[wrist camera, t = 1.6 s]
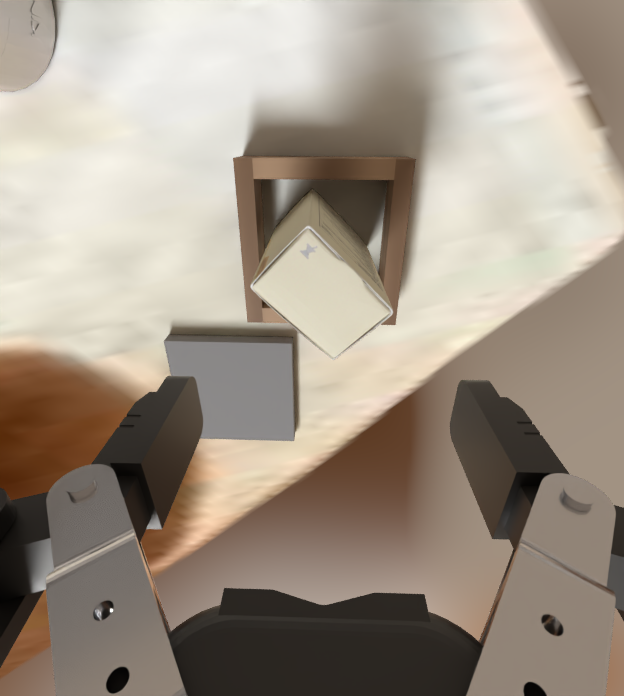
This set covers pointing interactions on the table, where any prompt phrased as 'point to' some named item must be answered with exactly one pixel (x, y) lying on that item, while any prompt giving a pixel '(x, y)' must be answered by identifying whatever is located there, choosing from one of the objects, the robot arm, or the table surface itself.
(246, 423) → the rubber mat
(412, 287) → the table surface
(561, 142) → the table surface
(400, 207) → the pocket holder
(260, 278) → the skincare box
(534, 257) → the table surface
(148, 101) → the table surface
